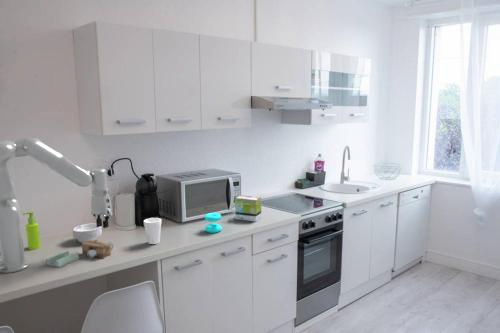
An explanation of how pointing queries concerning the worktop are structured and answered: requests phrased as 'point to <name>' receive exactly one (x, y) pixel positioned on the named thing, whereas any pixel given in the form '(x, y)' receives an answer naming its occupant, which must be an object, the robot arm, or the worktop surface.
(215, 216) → the donuts
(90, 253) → the axle
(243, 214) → the tea box
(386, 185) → the worktop surface
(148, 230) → the foam cup
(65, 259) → the cradle
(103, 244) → the brown wooden block
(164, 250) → the worktop surface
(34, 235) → the soap dispenser
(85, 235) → the paper bowls
